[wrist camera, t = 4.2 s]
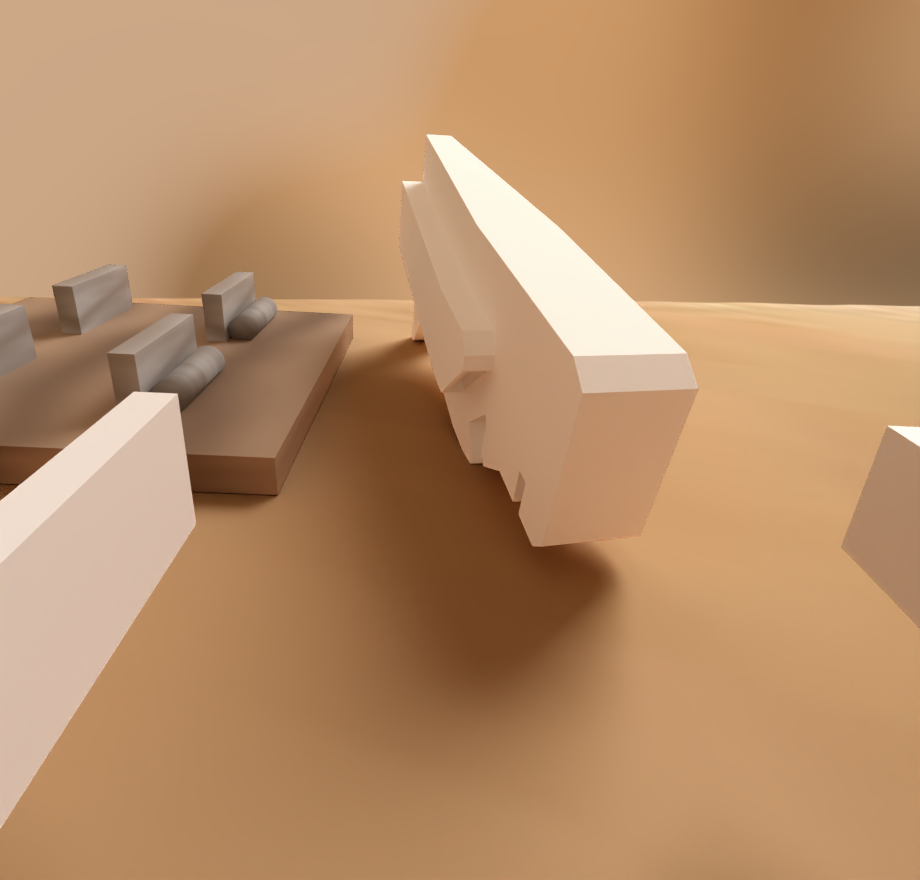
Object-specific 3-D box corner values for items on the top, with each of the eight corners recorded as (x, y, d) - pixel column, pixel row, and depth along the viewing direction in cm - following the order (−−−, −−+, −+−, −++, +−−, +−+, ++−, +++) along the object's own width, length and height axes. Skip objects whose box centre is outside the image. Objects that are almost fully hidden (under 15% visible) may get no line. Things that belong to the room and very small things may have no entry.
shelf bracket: (461, 338, 43) (486, 138, 35) (617, 658, 24) (742, 370, 16) (381, 340, 41) (389, 131, 34) (477, 680, 22) (544, 376, 15)
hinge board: (352, 337, 41) (352, 274, 39) (277, 495, 23) (269, 391, 21) (35, 320, 40) (20, 255, 38) (-305, 470, 22) (-362, 360, 20)
